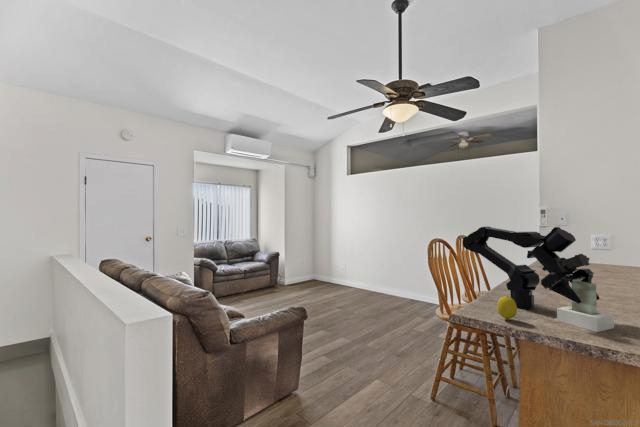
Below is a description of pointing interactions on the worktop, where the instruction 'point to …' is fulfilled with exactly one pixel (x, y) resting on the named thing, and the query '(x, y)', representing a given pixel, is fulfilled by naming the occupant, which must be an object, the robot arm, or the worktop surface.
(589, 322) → the white rectangular frame
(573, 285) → the slat
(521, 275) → the robot arm
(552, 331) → the worktop surface
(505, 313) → the lemon
